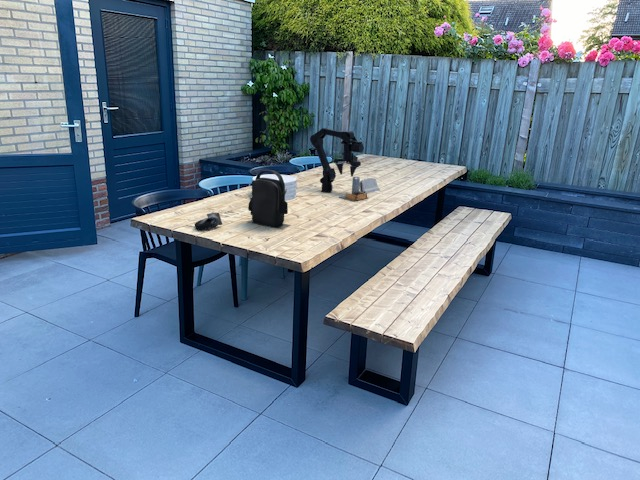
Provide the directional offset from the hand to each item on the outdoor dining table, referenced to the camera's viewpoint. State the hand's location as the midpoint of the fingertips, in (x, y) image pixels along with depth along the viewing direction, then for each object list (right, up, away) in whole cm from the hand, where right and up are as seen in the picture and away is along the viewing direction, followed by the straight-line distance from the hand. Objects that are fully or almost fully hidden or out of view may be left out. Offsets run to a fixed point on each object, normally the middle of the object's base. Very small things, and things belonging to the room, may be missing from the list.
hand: (346, 175), depth 314 cm
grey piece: (+5, -15, -4) cm, 16 cm away
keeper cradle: (+4, -15, -3) cm, 16 cm away
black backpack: (-43, -34, -64) cm, 85 cm away
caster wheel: (-73, -37, -75) cm, 111 cm away
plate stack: (-46, -14, -4) cm, 49 cm away
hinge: (+16, -9, +19) cm, 26 cm away
